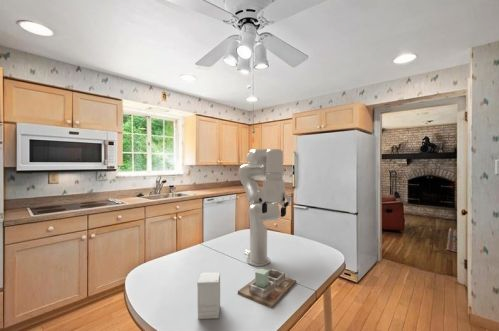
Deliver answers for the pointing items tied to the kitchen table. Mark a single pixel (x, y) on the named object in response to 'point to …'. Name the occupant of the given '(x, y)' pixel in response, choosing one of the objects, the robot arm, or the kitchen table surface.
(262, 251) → the robot arm
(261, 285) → the plug
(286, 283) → the socket board
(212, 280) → the supplement box
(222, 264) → the kitchen table surface
